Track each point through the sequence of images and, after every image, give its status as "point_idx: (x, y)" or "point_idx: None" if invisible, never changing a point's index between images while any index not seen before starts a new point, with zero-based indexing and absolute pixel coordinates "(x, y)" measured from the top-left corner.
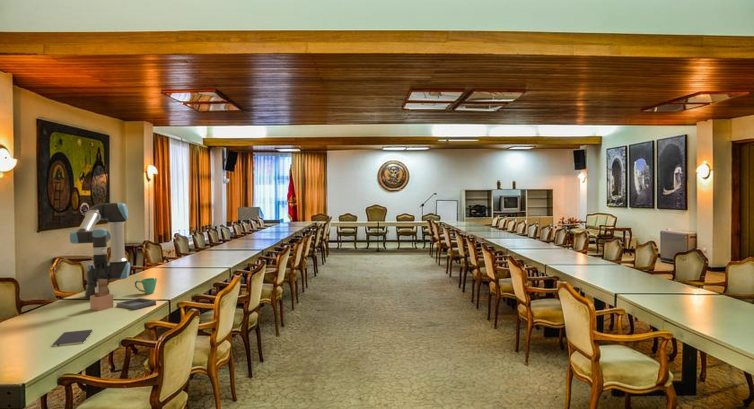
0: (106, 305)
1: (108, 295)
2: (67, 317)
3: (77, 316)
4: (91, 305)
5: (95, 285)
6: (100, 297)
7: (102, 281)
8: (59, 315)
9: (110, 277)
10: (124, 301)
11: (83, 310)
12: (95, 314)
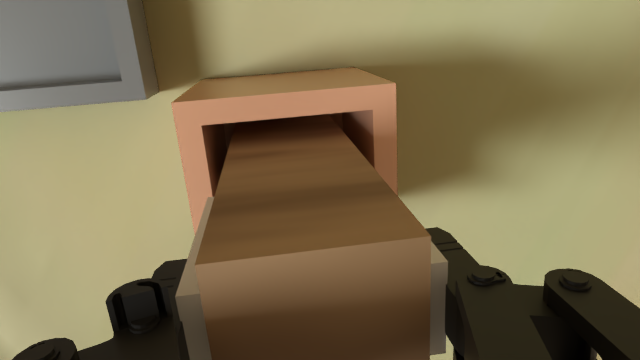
0: (277, 79)
1: (245, 97)
2: (585, 124)
3: (534, 83)
4: None
5: (444, 245)
6: (367, 85)
7: (341, 229)
8: (564, 247)
9: (57, 352)
10: (42, 101)
11: None
12: (420, 4)
